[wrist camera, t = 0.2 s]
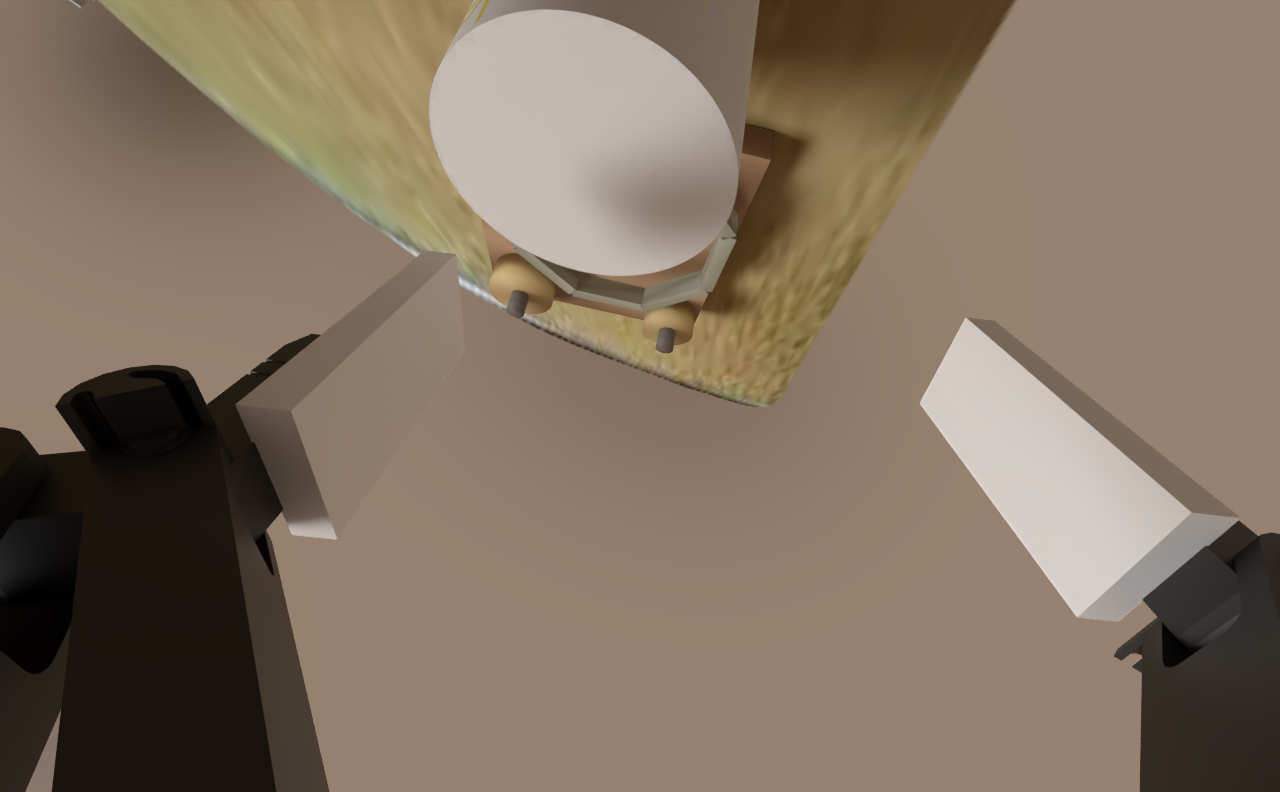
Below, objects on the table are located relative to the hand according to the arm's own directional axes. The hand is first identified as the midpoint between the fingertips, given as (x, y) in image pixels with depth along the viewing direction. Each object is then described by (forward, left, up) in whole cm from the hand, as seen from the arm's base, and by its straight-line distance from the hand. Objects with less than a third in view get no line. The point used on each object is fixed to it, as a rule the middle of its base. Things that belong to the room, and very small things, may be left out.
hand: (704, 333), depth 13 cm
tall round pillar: (-1, -4, -16) cm, 16 cm away
